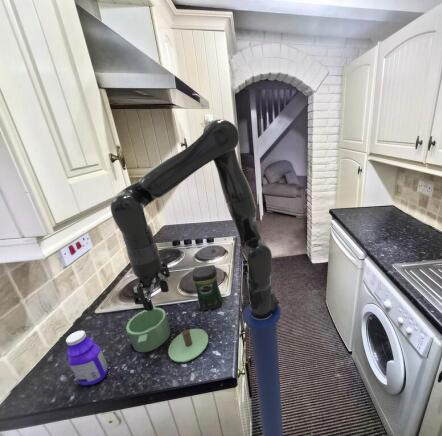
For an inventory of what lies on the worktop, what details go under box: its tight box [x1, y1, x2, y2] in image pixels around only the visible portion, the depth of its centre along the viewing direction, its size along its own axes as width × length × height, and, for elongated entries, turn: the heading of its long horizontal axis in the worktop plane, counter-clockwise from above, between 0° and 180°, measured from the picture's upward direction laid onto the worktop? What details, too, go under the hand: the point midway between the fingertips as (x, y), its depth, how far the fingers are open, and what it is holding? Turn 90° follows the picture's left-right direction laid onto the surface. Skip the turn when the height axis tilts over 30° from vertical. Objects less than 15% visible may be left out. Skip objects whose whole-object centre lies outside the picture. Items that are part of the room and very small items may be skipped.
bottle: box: [65, 330, 109, 386], centre depth 68 cm, size 7×6×17 cm
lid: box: [167, 328, 209, 363], centre depth 79 cm, size 13×13×7 cm
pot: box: [125, 304, 171, 353], centre depth 83 cm, size 12×17×8 cm
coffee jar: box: [192, 264, 223, 311], centre depth 96 cm, size 10×8×19 cm
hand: (158, 300), depth 74 cm, fingers open, 8 cm apart
